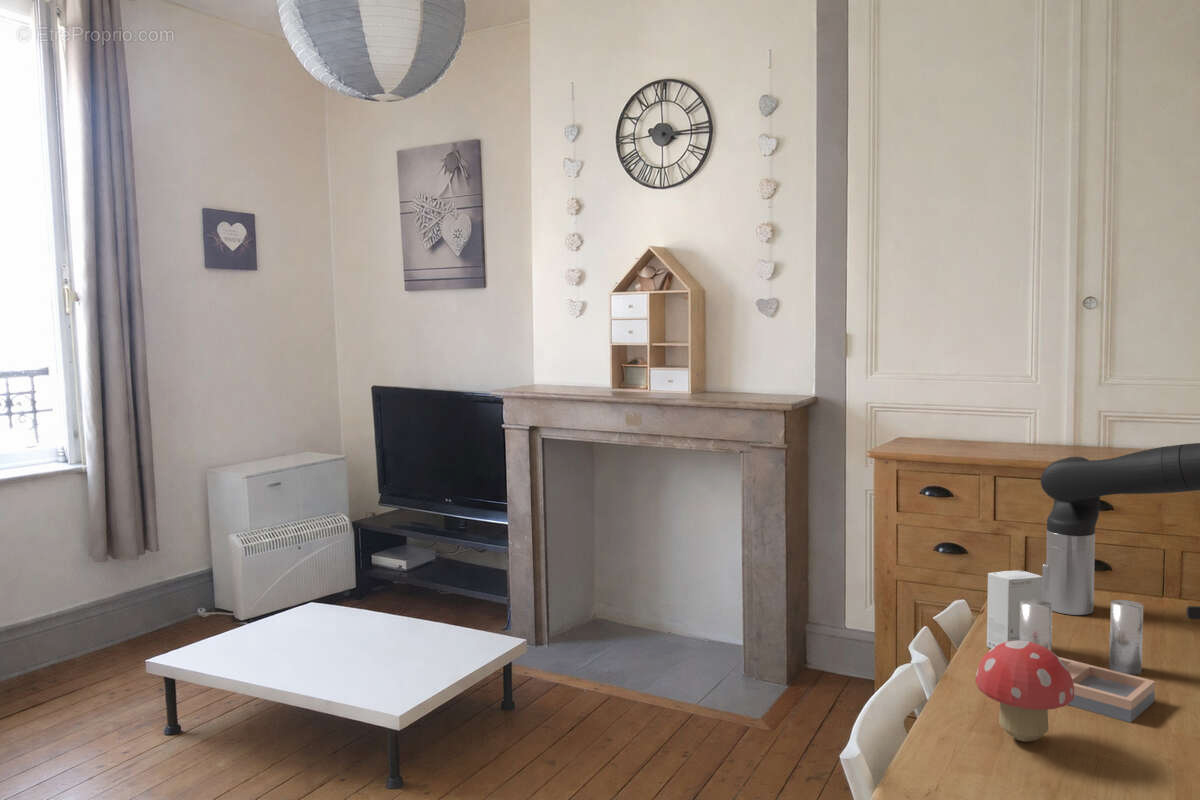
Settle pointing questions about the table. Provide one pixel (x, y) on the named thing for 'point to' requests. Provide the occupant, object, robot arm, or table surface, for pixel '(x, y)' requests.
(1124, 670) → the cylinder
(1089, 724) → the table surface
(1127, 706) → the pink rectangular tray
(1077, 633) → the table surface
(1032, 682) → the decorative mushroom
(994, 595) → the skincare box
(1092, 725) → the table surface
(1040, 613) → the seated billet
